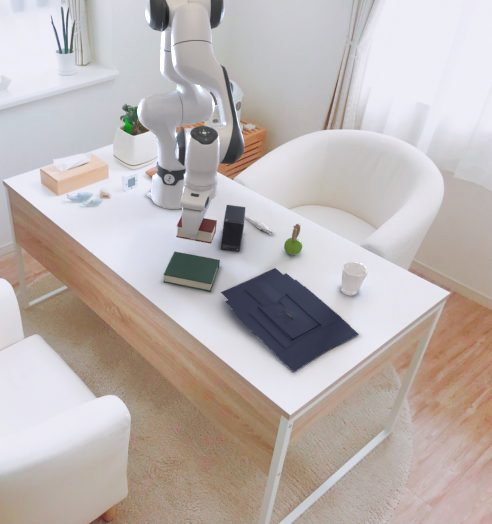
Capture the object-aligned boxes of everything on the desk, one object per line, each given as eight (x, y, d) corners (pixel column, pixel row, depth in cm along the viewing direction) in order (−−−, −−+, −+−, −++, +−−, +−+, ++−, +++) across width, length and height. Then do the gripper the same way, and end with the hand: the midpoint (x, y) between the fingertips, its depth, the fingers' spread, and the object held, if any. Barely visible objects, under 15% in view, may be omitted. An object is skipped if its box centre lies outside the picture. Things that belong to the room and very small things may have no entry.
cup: (331, 292, 164) (337, 269, 159) (346, 275, 171) (352, 253, 166) (355, 302, 161) (362, 279, 156) (369, 284, 167) (376, 262, 162)
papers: (277, 272, 169) (280, 263, 167) (356, 340, 152) (360, 331, 149) (213, 301, 158) (215, 292, 156) (290, 379, 141) (293, 369, 138)
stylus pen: (275, 234, 188) (276, 229, 187) (269, 237, 187) (270, 232, 186) (243, 214, 198) (243, 210, 197) (237, 217, 197) (238, 212, 195)
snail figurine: (280, 257, 178) (286, 224, 171) (285, 246, 182) (291, 214, 175) (297, 261, 176) (304, 228, 169) (302, 251, 181) (309, 218, 173)
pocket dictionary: (181, 225, 166) (182, 214, 163) (215, 232, 164) (216, 220, 161) (176, 237, 161) (176, 225, 159) (211, 243, 159) (212, 231, 157)
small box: (240, 252, 180) (244, 223, 174) (219, 249, 181) (222, 221, 175) (242, 233, 188) (246, 206, 182) (222, 231, 189) (225, 204, 183)
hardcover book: (174, 259, 177) (174, 251, 175) (219, 267, 173) (219, 259, 171) (163, 282, 167) (163, 274, 166) (210, 291, 164) (211, 283, 162)
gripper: (197, 168, 162) (194, 210, 170) (178, 204, 146) (176, 249, 155) (219, 172, 161) (215, 214, 169) (202, 209, 145) (199, 253, 153)
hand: (196, 231), depth 162 cm, fingers closed on pocket dictionary, 6 cm apart
